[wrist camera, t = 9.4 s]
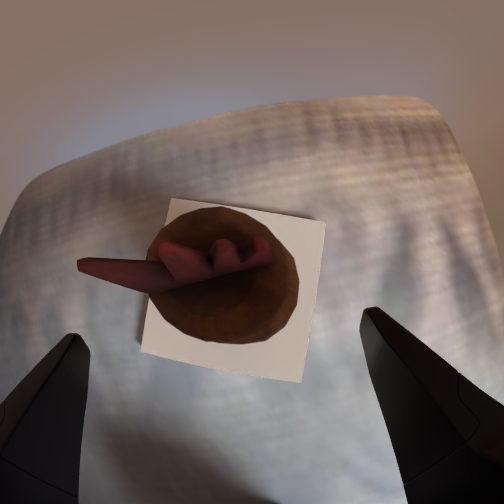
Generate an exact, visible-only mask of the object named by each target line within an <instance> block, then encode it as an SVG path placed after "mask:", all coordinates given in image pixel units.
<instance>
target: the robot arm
mask: <svg viewBox="0 0 504 504" xmlns="http://www.w3.org/2000/svg"><path fill="white" fill-rule="evenodd" d="M360 336H361V340H362V344H363V348H364V353H365V357H366V361H367V366H368V370H369V374H370V378H371V381H372V384H373V387H374V390H375V393H376V395H377V398H378V401H379V404H380V408H381V411H382V414H383V417H384V420H385V423H386V426H387V429H388V433H389V436H390V439H391V443H392V446H393V449H394V453H395V456H396V460H397V463H398V467H399V470H400V474H401V478H402V482H403V484H404V485H403V486H404V490H405V494H406V498H407V502H408V504H504V405H502V404H501V403H499V402H498V401H496V400H495V399H493V398H492V397H490V396H489V395H488V394H486V393H485V392H484V391H482V390H481V389H479V388H478V387H477V386H476V385H474V384H473V383H472V382H471V381H469V380H468V379H467V378H466V377H464V376H463V375H462V374H461V373H458V371H457V370H456V369H455V368H453V367H452V366H451V365H450V364H449V363H447V362H446V361H445V360H444V359H443V358H441V357H440V356H439V355H438V354H436V353H435V352H434V351H433V350H432V349H430V348H429V347H428V346H427V345H425V344H424V343H423V342H422V341H420V340H419V339H418V338H417V337H415V336H414V335H413V334H412V333H410V332H409V331H408V330H407V329H405V328H404V327H403V326H402V325H400V324H399V323H398V322H397V321H395V320H394V319H393V318H392V317H390V316H389V315H388V314H386V313H385V312H384V311H383V310H381V309H380V308H379V307H370V308H366V309H364V311H363V315H362V319H361V323H360ZM89 366H90V350H89V348H88V346H87V345H86V343H85V342H84V340H83V339H82V337H81V336H80V335H79V334H77V333H69V334H67V335H66V336H65V337H64V338H63V339H62V340H61V341H60V342H59V343H58V344H57V345H56V346H55V347H54V348H53V349H52V350H51V351H50V352H49V353H48V354H47V355H46V356H45V357H44V358H43V359H42V360H41V361H40V362H39V363H38V364H37V365H36V366H35V367H34V368H33V369H32V370H31V371H30V372H29V373H28V374H27V376H26V377H25V378H24V379H23V380H22V381H21V382H20V383H19V384H18V385H17V386H16V387H15V389H14V390H13V391H12V392H11V393H10V394H9V395H8V396H7V397H6V398H5V400H4V401H3V402H2V403H1V404H0V504H78V491H79V468H80V453H81V442H82V432H83V424H84V416H85V409H86V402H87V393H88V379H89Z"/></svg>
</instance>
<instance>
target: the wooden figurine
mask: <svg viewBox="0 0 504 504" xmlns="http://www.w3.org/2000/svg"><path fill="white" fill-rule="evenodd" d="M77 267H78V271H80V272H83V273H85V274H88V275H91V276H94V277H97V278H100V279H103V280H106V281H109V282H112V283H115V284H118V285H121V286H124V287H127V288H130V289H133V290H136V291H140V292H143V293H147V294H149V297H150V299H151V301H152V302H153V304H154V305H155V307H156V308H157V310H158V311H159V313H160V314H161V315H162V317H163V318H164V320H165V321H167V322H168V323H170V324H171V325H172V326H174V327H175V328H176V329H178V330H179V331H181V332H182V333H183V334H186V335H188V336H191V337H194V338H197V339H200V340H202V341H205V342H216V343H223V344H239V345H243V344H250V343H257V342H263V341H266V340H268V339H269V338H271V337H272V336H273V335H275V334H276V333H277V332H279V331H280V330H281V329H283V328H284V327H285V326H286V324H287V323H288V321H289V319H290V317H291V315H292V314H293V312H294V310H295V308H296V306H297V301H298V292H299V283H300V281H299V277H298V272H297V268H296V264H295V260H294V257H293V256H292V255H291V254H290V252H289V251H288V250H287V249H286V248H285V246H284V245H283V244H282V243H281V242H280V240H279V239H277V238H276V237H275V236H274V234H273V233H272V232H271V231H270V230H269V228H268V227H267V226H266V225H264V224H262V223H261V222H259V221H257V220H256V219H254V218H252V217H251V216H249V215H247V214H245V213H243V212H239V211H236V210H233V209H230V208H227V207H223V206H220V207H207V208H200V209H197V210H194V211H191V212H188V213H185V214H182V215H180V216H178V217H177V218H176V219H174V220H173V221H172V222H170V223H169V224H168V225H166V226H165V227H164V228H162V229H161V231H160V232H159V234H158V235H157V237H156V238H155V240H154V241H153V243H152V244H151V246H150V248H149V249H148V253H147V257H146V260H128V259H109V258H91V257H88V258H82V259H79V260H77Z"/></svg>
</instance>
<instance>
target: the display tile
mask: <svg viewBox="0 0 504 504" xmlns="http://www.w3.org/2000/svg"><path fill="white" fill-rule="evenodd" d="M220 206H223V207H227V208H230V209H233V210H236V211H239V212H243V213H245V214H247V215H249V216H251V217H252V218H254V219H256V220H257V221H259V222H261V223H262V224H264V225H266V226H267V227H268V228H269V230H270V231H271V232H272V233H273V234H274V236H275V237H276V238H277V239H279V240H280V242H281V243H282V244H283V245H284V246H285V248H286V249H287V250H288V251H289V252H290V254H291V255H292V256H293V257H294V260H295V264H296V268H297V272H298V277H299V281H300V283H299V292H298V301H297V306H296V308H295V310H294V312H293V314H292V315H291V317H290V319H289V321H288V323H287V324H286V326H285V327H284V328H283V329H281V330H280V331H279V332H277V333H276V334H275V335H273V336H272V337H271V338H269V339H268V340H266V341H263V342H257V343H250V344H243V345H239V344H223V343H216V342H205V341H202V340H200V339H197V338H194V337H191V336H188V335H186V334H183V333H182V332H181V331H179V330H178V329H176V328H175V327H174V326H172V325H171V324H170V323H168V322H167V321H165V320H164V318H163V317H162V315H161V314H160V313H159V311H158V310H157V308H156V307H155V305H154V304H153V302H152V301H151V299H150V297H149V302H148V308H147V314H146V320H145V326H144V332H143V339H142V345H141V352H145V353H149V354H152V355H156V356H160V357H164V358H168V359H172V360H176V361H180V362H184V363H189V364H193V365H198V366H202V367H207V368H212V369H217V370H222V371H227V372H233V373H238V374H244V375H250V376H256V377H262V378H269V379H276V380H284V381H291V382H300V383H301V379H302V374H303V369H304V364H305V359H306V353H307V348H308V343H309V337H310V331H311V325H312V319H313V313H314V307H315V301H316V294H317V287H318V280H319V273H320V266H321V258H322V251H323V243H324V234H325V225H326V222H320V221H315V220H310V219H304V218H298V217H293V216H287V215H281V214H275V213H269V212H263V211H257V210H251V209H244V208H238V207H232V206H225V205H218V204H211V203H205V202H198V201H190V200H183V199H176V198H171V202H170V206H169V210H168V214H167V218H166V222H165V226H166V225H168V224H169V223H170V222H172V221H173V220H174V219H176V218H177V217H178V216H180V215H182V214H185V213H188V212H191V211H194V210H197V209H200V208H207V207H220ZM165 226H164V227H165Z"/></svg>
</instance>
